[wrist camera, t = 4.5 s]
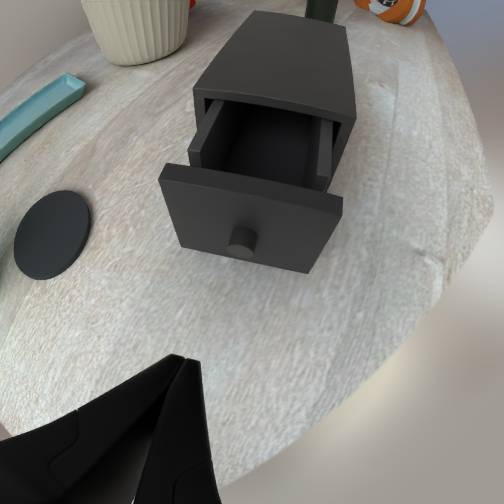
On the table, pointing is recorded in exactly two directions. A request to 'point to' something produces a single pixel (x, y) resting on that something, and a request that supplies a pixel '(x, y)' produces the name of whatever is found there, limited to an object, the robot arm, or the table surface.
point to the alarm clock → (395, 10)
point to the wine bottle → (321, 10)
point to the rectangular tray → (38, 111)
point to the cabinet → (285, 72)
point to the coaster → (52, 235)
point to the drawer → (255, 186)
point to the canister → (137, 28)
